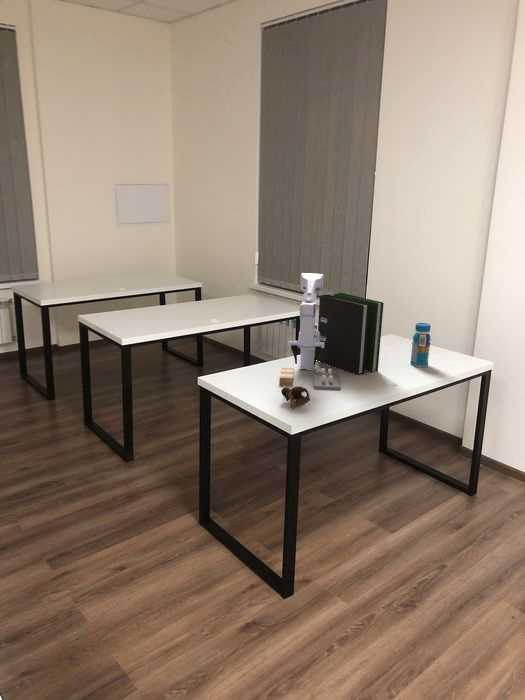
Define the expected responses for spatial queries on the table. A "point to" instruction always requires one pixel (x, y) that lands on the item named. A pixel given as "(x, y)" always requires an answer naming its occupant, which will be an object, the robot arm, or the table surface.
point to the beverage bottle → (421, 345)
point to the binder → (350, 332)
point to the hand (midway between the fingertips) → (305, 363)
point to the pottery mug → (296, 396)
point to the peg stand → (326, 380)
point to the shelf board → (286, 376)
